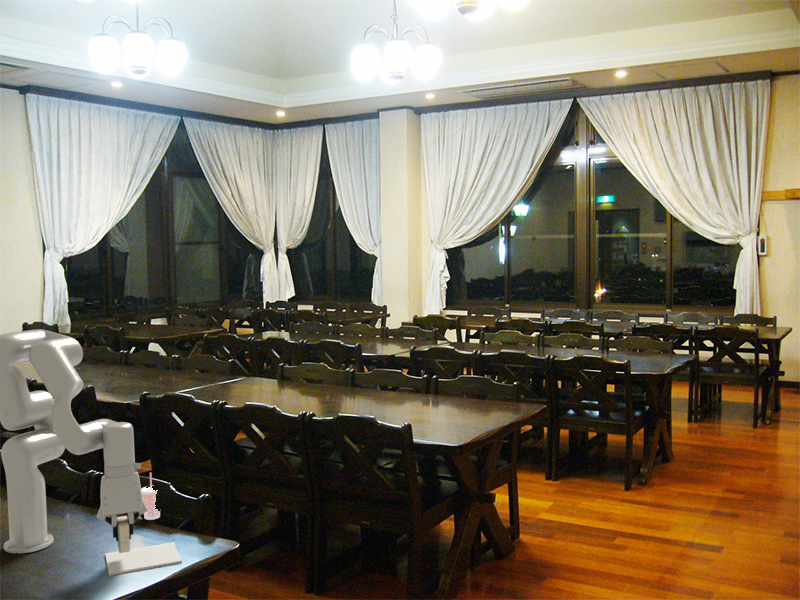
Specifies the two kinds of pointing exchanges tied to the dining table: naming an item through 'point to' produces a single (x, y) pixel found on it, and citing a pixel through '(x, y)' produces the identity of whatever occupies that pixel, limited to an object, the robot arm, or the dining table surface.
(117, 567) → the off-white board
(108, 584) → the dining table surface
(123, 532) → the tan notched wooden block
